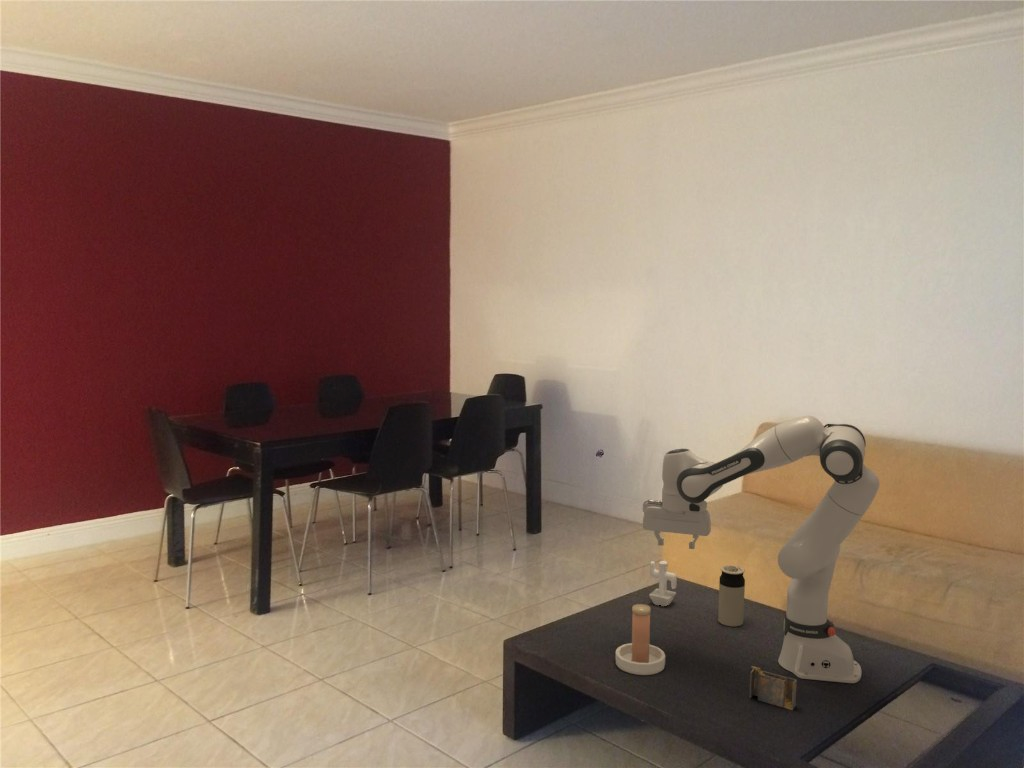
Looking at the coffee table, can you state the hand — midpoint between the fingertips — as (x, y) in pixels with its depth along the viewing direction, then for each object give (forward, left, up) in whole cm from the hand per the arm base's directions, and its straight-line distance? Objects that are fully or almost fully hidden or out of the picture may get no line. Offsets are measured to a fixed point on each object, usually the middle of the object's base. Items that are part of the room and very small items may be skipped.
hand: (676, 546), depth 252 cm
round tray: (+6, +18, -31) cm, 36 cm away
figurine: (+10, -30, -31) cm, 44 cm away
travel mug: (-14, -23, -31) cm, 41 cm away
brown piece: (-31, +26, -31) cm, 51 cm away
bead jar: (+6, +18, -30) cm, 35 cm away
